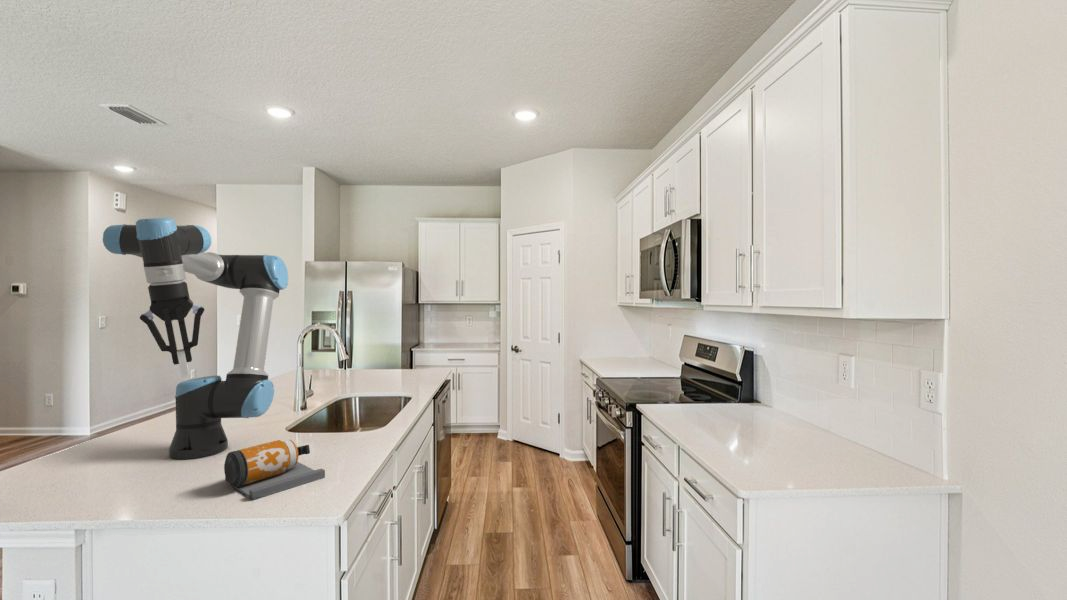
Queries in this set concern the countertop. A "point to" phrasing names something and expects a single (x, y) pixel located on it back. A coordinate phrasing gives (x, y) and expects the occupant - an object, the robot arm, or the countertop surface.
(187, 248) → the robot arm
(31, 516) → the countertop surface
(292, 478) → the tray
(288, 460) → the canister
